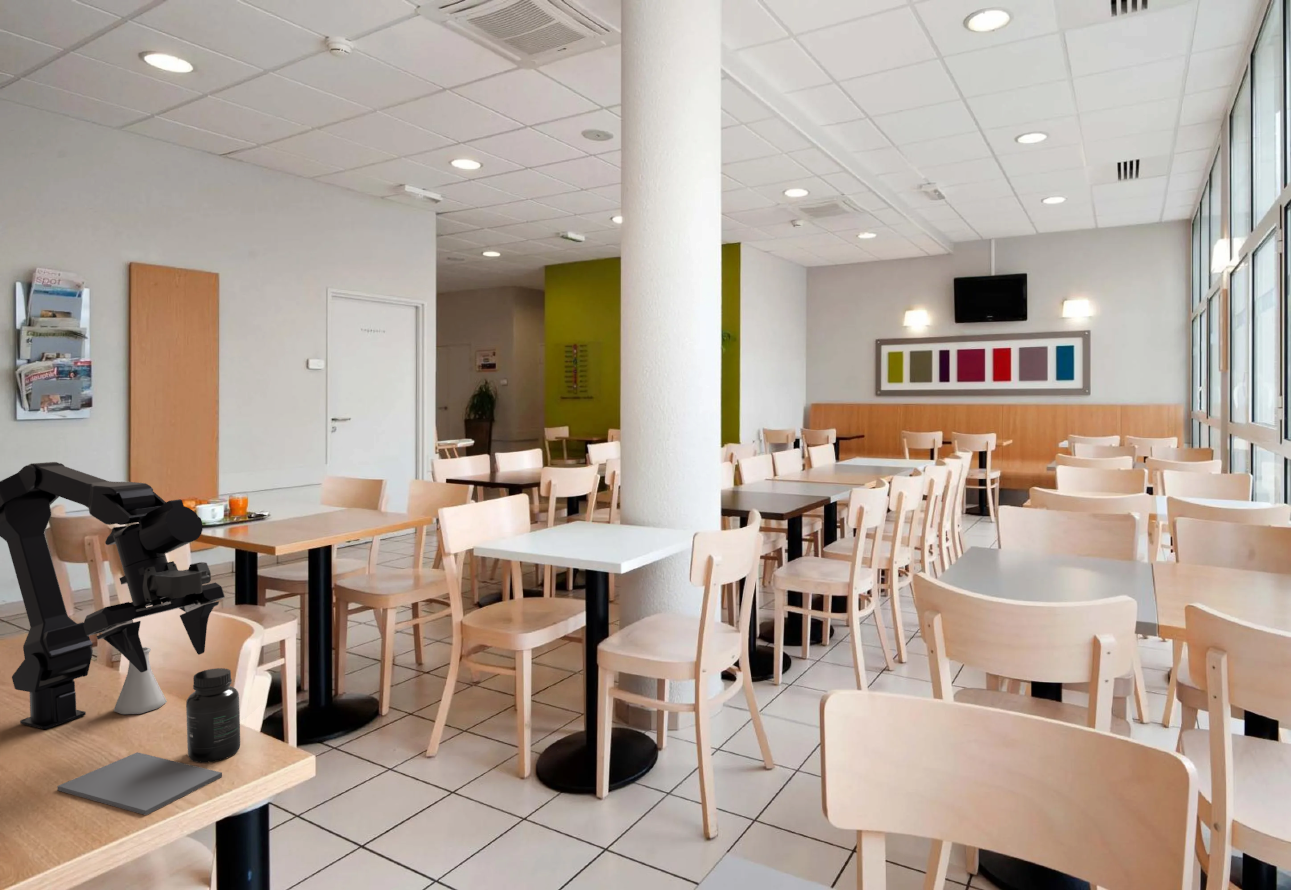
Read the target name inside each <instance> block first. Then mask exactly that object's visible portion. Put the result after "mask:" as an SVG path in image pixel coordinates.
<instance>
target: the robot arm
mask: <svg viewBox="0 0 1291 890" xmlns="http://www.w3.org/2000/svg"><path fill="white" fill-rule="evenodd" d="M58 498H62V499H65V500H69V501H71V502H74V503H77V504H80V505H82V506H84V507H87V508H88V512H89V515H90V516H91V517H93V518H95V519H97V520H98V521H99V522H101V523H103V524H105V525H109V526H110V525H119V526H116V527H115V526H114V527H112V530H111V533H110V534H109V535H108V536H107V537H106V539H105V545H107V546H110V545H115V546H116V549H117V553H118V556H119V560H120V563H121V566H122V567H121V568H122V570H123V574H124V575H123V576H120V577H119V581H120V584H121V585H125V584H126V585H127V587H128V588H127V589H128V591H129V595H130V597H131V602H130V601H127V602H122V603H117V604H114V605H108V606H105V607H102V608H100V609H98V610H97V611H94V612H92V613H90V614H87V615H86V616H85V618H84V621H83V622H79V623H77V622H76V621H74V620H73V619H72V618H71V617H70V616H69V615H68V612H67V609H66V606H65V602H64V601H65V600H64V598H63V594H62V591H61V587H60V584H59V581H58V577H57V573H56V569H55V565H54V563H53V559H52V555H51V551H50V548H49V545H48V541H47V537H46V533H45V532H46V529H47V527H48V524H49V522H50V519H51V517H52V510H51V509H52V508H51V505H52V504H53V503H54V502H55V501H56V500H58ZM128 524H129V525H128ZM127 525H128V526H127ZM203 528H204V527H203V520H202V519H201V517H199V515H198V514H197V513H196V512H195V511H194V510H193V509H191V508H190V507H187V506H185V505H184V502H183V499H179V498H178V499H173V500H168V501H165V500H164V499H163V498H162V497H160V496H159V495H158V494H157V493H156V492H155V491H154V489H153V487H152V486H151V485H149V484H148V483H146V482H145V483H144V482H136V481H134V482H133V481H110V480H106V479H103V478H101V477H97V476H95V475H92V474H88V473H85V472H82V471H80V470H76V469H74V468H70V467H67V466H65V465H64V464H63V463H60V462H57V461H49V462H35V463H32V462H31V463H29V464H27V465H25V466H23V467H22V468H21V469H19V471H17V472H16V473H15V474H12V475H11V476H8V477H6V478H3V479H2V480H0V538H2V539H3V540H4V541H5V542H6V544H7V547H8V550H9V554H10V559H11V562H12V565H13V568H14V572H15V576H16V578H17V583H18V586H19V590H20V593H21V594H20V595H21V597H22V600H23V604H24V607H25V612H26V615H27V618H28V622H29V627H30V629H29V631H28V633H27V636H26V638H25V641H24V643H23V646H22V649H23V650H22V651H23V656H24V659H23V660H22V662H21V664H20V665H19V666H18V668H17V669H16V670H15V672H14V673H13V674H12V676H11V680H12V683H13V687H14V689H15V690H18V691H22V692H29V708H30V709H29V711H30V712H29V713H30V716H29V717H26V718H22V719H21V720H20V721H19V723H20V725H21V724H22V725H25V726H29V727H34V728H37V729H42V730H48V729H51V728H52V727H55V726H59V725H61V724H64V723H67V722H69V721H72V720H76V719H79V718H81V717H83V716H85V715H87V713H86V711H83V710H80V709H77V697H76V695H77V693H76V683H75V682H76V681H75V680H76V679H79V678H82V677H84V678H85V677H86V676H88V674H89V670H90V666H91V662H92V657H93V651H94V650H93V647H92V646H93V642H92V640H91V639H90V637H91V636H93V635H94V636H95V635H96V639H97V640H104V641H105V642H107V643H108V645H111V646H112V647H113V648H114V649H115V650H117V651H118V652H119V653H120V654H121V655H122V656H123V657H124V658H126V659H127V661H128V662H129V661H130V662H131V663H132V664H133V665H134V666H135V667H136V668H137V669H138V670H139V671H140V672H141V673H142V672H145V671H147V662H146V658H145V654H144V651H143V648H142V647H143V645H142V641H141V638H140V634H139V632H140V626H141V620H139V621H138V620H137V621H134V620H136V619H140V618H143V617H148V616H152V615H156V614H161V613H164V612H169V611H173V610H177V609H180V610H181V611H183V613H181V614H180V615H179V618H180V620H181V622H182V625H183V626H184V628H185V631H186V634H187V635H188V638H189V640H190V642H191V644H192V647H193V648H194V651H195V652H196V654H197V655H202V654H204V653H205V650H206V639H207V630H208V629H207V628H208V622H209V617H210V615H211V613H212V611H213V609H214V608H215V607H217V606H218V605H219V604H220V603H219V602H220V600H223V599H225V598H226V595H225V593H224V590H223V589H224V588H223V586H222V585H220V584H219V583H217V582H212V583H210V582H211V581H212V576H211V574H212V573H211V570H210V567H209V565H208V563H207V562H206V561H205V562H202V561H201V562H195V563H191V564H190V565H189V567H188V569H183V570H179V569H178V567H177V563H175V561H168V557H167V555H166V554H169V553H171V552H174V551H175V550H177V549H180V548H181V547H184V546H186V545H188V544H191V543H193V542H195V541H197V540H198V539H199V538H200V537H201V536H202V532H203ZM97 634H98V635H97Z"/></svg>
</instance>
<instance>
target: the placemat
mask: <svg viewBox="0 0 1291 890" xmlns="http://www.w3.org/2000/svg"><path fill="white" fill-rule="evenodd" d="M220 778H223V772H221V771H217V770H213V769H209V768H204V767H200V766H197V765H192V764H188V763H184V762H179V761H175V760H171V759H167V758H162V757H158V756H156V755H154V756H153V755H150V754H146V753H141V752H139V751H137V752H134V753H132V754H129V755H127V756H125V757H123V758H120V759H118V760H116V761H113V762H111V763H108V764H106V765H105V766H104V765H103V766H101V767H99V768H97V769H94V770H92V771H89V772H88V773H85V774H83V775H80V776H78V777H75V778H72V779H71V780H68V781H66V782H64V783H61V784H59V785H57V787H56V788H57V791H59V792H61V793H62V792H63V793H66V794H69V795H71V796H72V795H73V796H76V797H80V798H83V799H87V800H90V801H94V802H98V803H101V804H105V805H109V806H112V807H114V808H119V809H122V810H126V811H130V812H134V813H137V814H139V815H140V814H141V815H144V816H147V815H149V814H151V813H153V812H155V811H158V810H159V809H161V808H163V807H165V806H167V805H168V804H169V805H170V804H171V803H173V802H175V801H177V800H179V799H181V798H183V797H185V796H187V795H189V794H191V793H193V792H195V791H197V790H198V789H201V788H202V787H205V786H206V785H208V784H211V783H212V782H215V781H216V780H218V779H219V780H220Z"/></svg>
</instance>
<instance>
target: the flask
mask: <svg viewBox="0 0 1291 890" xmlns="http://www.w3.org/2000/svg"><path fill="white" fill-rule="evenodd" d="M142 648H143V651H144V654H145V658H146V662H147V671H145V672H142V673H141V672H140V671H139V670H138V669H137V668H136V667H135V666H134V665H133V664H132V663H131V662H130V661H129V660H128V662H129V664H128V667H127V668H128V669H127V672H126V673H127V674H126V677H125V679H124V682H123V686H122V688H121V691H120V693H119V696H118V698H117V701H116V703H115V705H114V708H113V712H115V713H117V714H120V715H137V714H138V715H139V714H144V713H147V712H151V711H153V710H156V709H160V708H161V707H162V706H163V705H165V704H166V703H167V702H168V701H167V699H166V697H165V695H164V693H163V691H162V689H161V687H160V685H159V683H158V681H157V679H156V677H155V675H154V673H153V671H152V666H151V663H150V656H149V655H150V653H151V651H152V650H151V649H152V648H151V647H148V646H144V647H143V646H142Z"/></svg>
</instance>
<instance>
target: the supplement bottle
mask: <svg viewBox="0 0 1291 890" xmlns="http://www.w3.org/2000/svg"><path fill="white" fill-rule="evenodd" d="M232 683H233V680H232V672H231V670H230V669H229V668H224V667H223V668H222V667H221V668H220V667H218V668H210V669H205V670H201V671H199V672H197V673H196V672H195V674H194V675H193V685H192V690H194V691H193V692H192V693H191V694H190V695H189V696H188V698H187V699H186V704H185V707H186V708H185V711H186V715H185V716H186V734H187V735H186V736H187V737H186V739H187V741H186V742H187V757H188V759H189V760H191V761H192V762H195V763H201V764H202V763H205V764H206V763H214V762H218V761H222V760H225V759H228V758H231V757H232V756H234V755H235V754H236V753H238V751H239V749H240V747H241V720H240V719H241V717H240V716H241V715H240V711H241V710H240V695H239V694H240V693H239V691H238V690H237V688H236V687H234V686H232ZM233 754H234V755H233ZM227 757H228V758H227Z"/></svg>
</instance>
